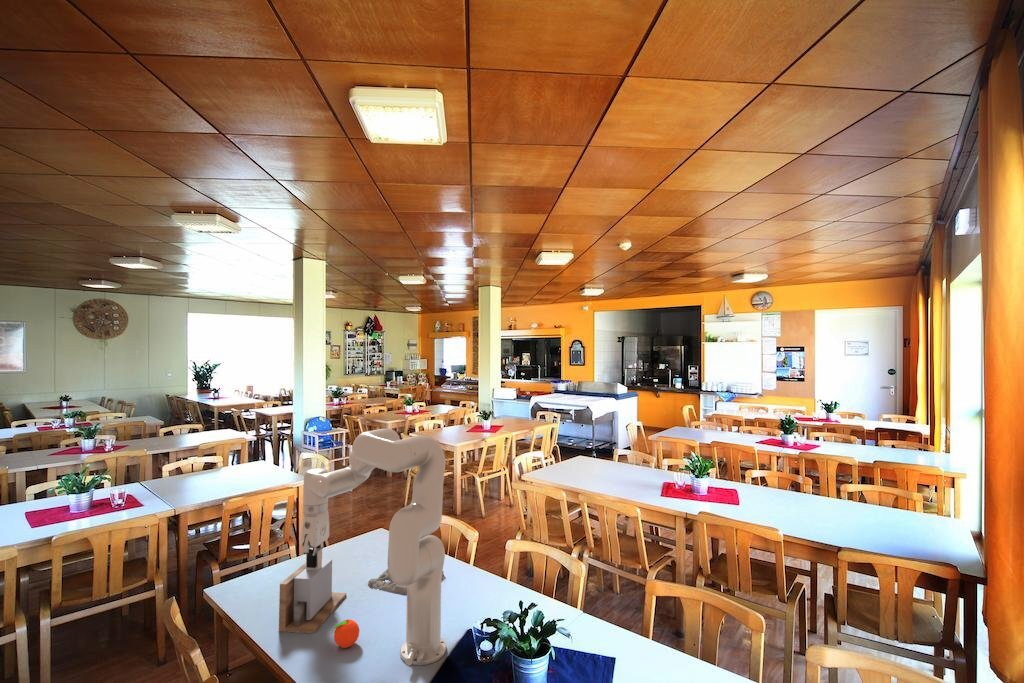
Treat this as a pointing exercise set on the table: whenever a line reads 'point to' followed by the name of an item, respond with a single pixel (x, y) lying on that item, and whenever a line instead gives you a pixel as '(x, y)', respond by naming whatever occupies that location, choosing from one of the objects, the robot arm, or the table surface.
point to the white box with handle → (314, 585)
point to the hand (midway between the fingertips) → (314, 564)
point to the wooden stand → (302, 608)
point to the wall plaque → (388, 584)
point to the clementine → (346, 633)
